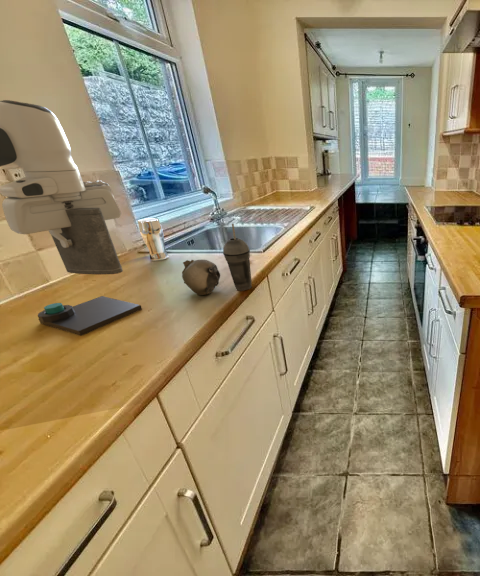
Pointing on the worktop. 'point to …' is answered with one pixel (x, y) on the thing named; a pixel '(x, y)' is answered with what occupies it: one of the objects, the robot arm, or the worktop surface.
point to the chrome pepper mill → (153, 238)
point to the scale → (88, 315)
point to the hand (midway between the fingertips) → (81, 243)
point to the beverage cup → (238, 262)
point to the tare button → (54, 308)
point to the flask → (88, 243)
